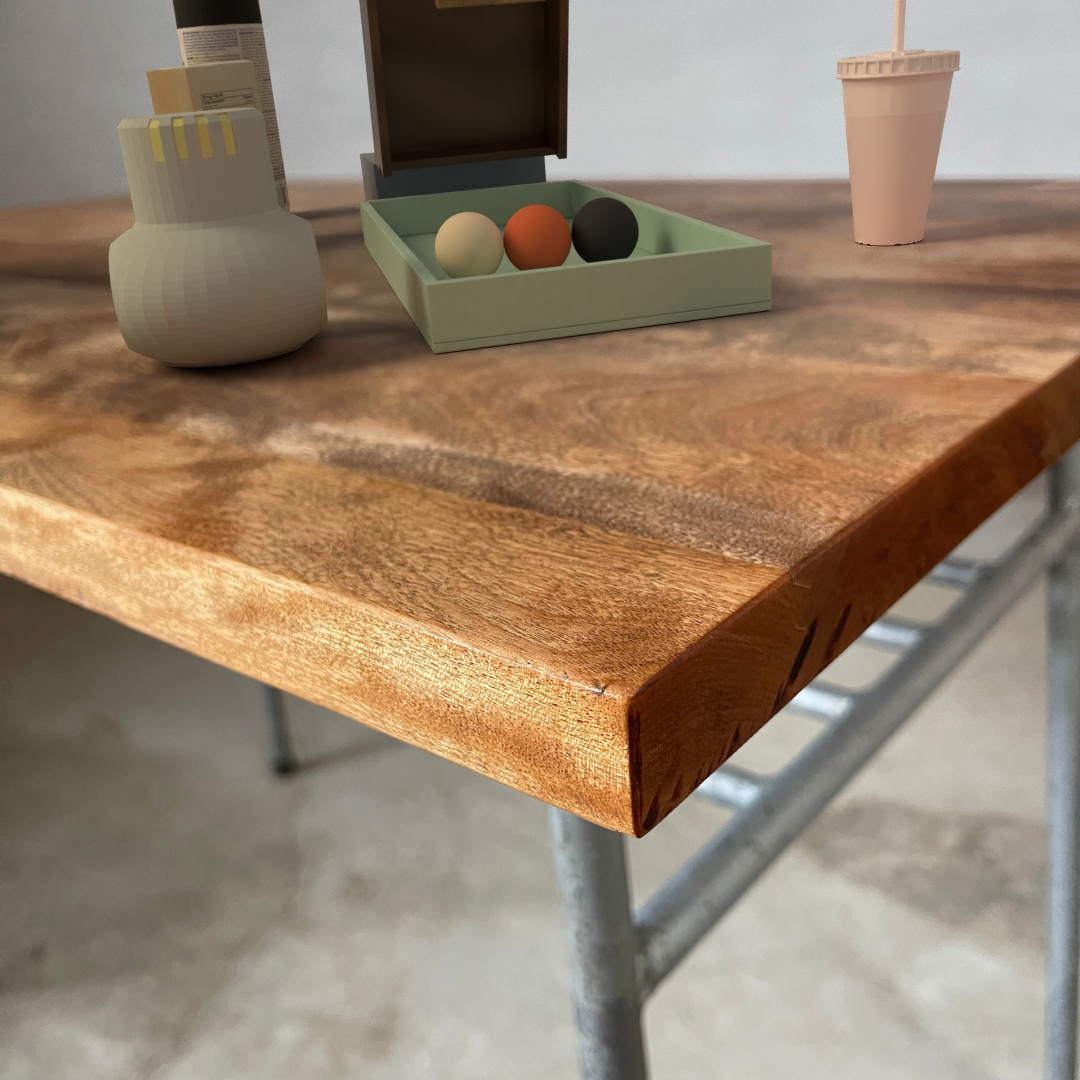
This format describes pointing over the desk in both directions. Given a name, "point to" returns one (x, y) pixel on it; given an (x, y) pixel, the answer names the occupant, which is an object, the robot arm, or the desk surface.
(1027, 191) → the desk surface
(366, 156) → the stand
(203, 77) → the cosmetic box
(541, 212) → the ball terracotta
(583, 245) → the ball charcoal
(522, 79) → the wooden display box
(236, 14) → the spray can
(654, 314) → the tray
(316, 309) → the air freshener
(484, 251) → the ball cream
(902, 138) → the smoothie
